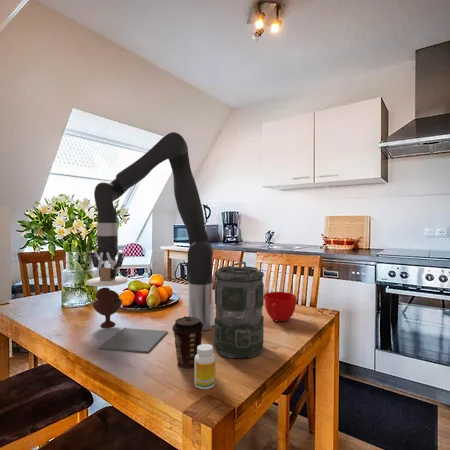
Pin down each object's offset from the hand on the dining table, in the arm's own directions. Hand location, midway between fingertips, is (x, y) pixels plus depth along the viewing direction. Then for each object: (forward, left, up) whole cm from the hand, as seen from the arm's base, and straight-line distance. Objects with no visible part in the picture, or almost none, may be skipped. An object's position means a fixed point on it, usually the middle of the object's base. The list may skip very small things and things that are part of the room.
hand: (107, 278), depth 118 cm
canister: (-53, +12, -19) cm, 57 cm away
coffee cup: (-40, +25, -19) cm, 51 cm away
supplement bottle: (-47, +34, -19) cm, 61 cm away
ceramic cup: (-66, -17, -19) cm, 71 cm away
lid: (0, 0, -1) cm, 1 cm away
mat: (-17, +11, -18) cm, 28 cm away
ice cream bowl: (0, 0, -19) cm, 19 cm away
